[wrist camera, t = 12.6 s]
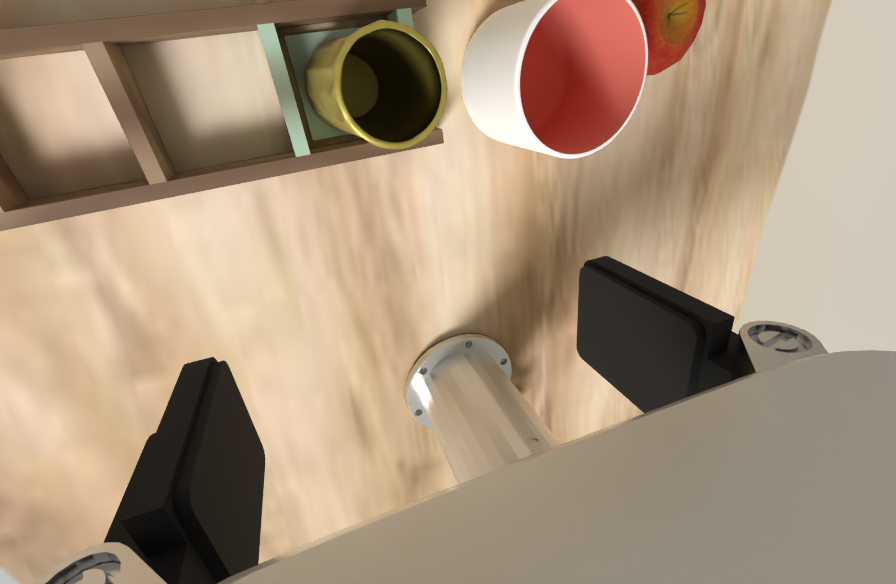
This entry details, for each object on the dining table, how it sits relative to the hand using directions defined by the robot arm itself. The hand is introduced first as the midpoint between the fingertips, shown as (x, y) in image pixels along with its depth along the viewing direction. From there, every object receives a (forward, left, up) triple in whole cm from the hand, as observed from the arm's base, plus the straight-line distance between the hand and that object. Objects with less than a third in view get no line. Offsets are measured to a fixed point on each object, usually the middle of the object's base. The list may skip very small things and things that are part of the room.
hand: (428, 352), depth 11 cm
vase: (+2, -6, -26) cm, 27 cm away
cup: (-9, -15, -26) cm, 32 cm away
